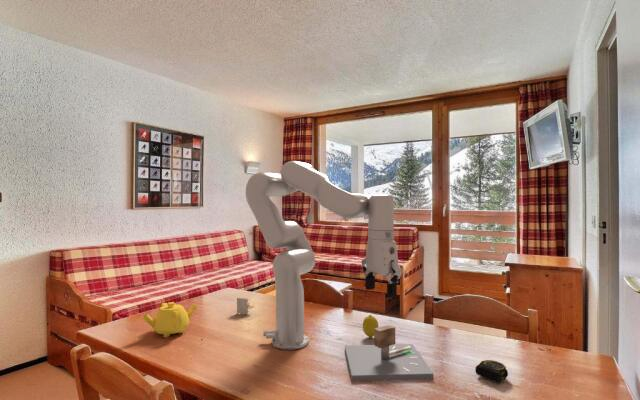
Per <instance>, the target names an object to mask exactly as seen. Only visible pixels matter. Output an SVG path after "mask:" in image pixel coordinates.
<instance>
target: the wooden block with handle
mask: <svg viewBox="0 0 640 400" xmlns="http://www.w3.org/2000/svg"><path fill="white" fill-rule="evenodd" d="M373 341H374V343H373V345H374V346H376V347H378V348H381V358H383V359H389V356H391V355H394V354H398V353H401V352H405V351H408V350H411V347H410V346H407V347H403V348H400V349H396V350H393V351H389V346H390V345H394V344H396V326H393V325H391V324H388V325H383V326H378V328H374V336H373Z"/></svg>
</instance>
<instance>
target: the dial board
mask: <svg viewBox="0 0 640 400" xmlns="http://www.w3.org/2000/svg"><path fill="white" fill-rule="evenodd" d="M407 346H410V347H411V350H408V351H405V352H401V353H398V354H394V355H391V356H389V359H383V358H381V348H378V347H376V346H374V344H364V345H363V344H357V345H356V344H355V345H344V352H345V357H346V361H347V365H348V370H349V373H350V374H349V375H350V378H351V382H360V381H361V382H363V381H364V382H368V381H369V382H371V381H372V382H373V381H375V382H376V381H409V380H410V381H411V380H412V381H414V380H419V381H420V380H434V377H435V376H434V372H433V371H432V370H431V368H430V366H429V365H428V364H427V362H426V361H425V360H424V358H423V357H422V356H421V354H420V353H419V351H418V349H416V347H415V345H414V344H413V343H407V344H405V343H404V344H403V343H401V344H397V343H395V344H394V345H390V346H389V351H393V350H396V349H400V348H403V347H407Z"/></svg>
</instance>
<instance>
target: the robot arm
mask: <svg viewBox="0 0 640 400" xmlns="http://www.w3.org/2000/svg"><path fill="white" fill-rule="evenodd" d="M298 191H299V192H301V193H303V194H305V195H307V196H309V197H311V198H312V199H314V200H315V201H316V202H317V203H318V204H319V205H320V206H322V207H323V208H325V209H326V210H328V211H330V212H332V213H333V214H336V215H337V216H340V217H342V218H345V219H349V220H351V219H352V220H353V219H360V218H368V219H367V220H368V221H367V223H368V225H367V227H368V230H367V233H368V235H367V236H368V237H367V243H366V250H365V258H364V259H362V260H361V266H362V270H363V272H364V274H363V275H364V277H365V290H366V291H367V290H368V291H369V290H370V291H371V290H374V289H376V275H375V274H377V275H380V276H384V277H386V280H387V281H388V282H386V297H387V298H394V297H397V295H398V294H397V292H398V291H397V287H398V286H397V285H398V283H399V281H400V279H401V278H402V274H403V272H404V270H403V268H402V267H401V266H400V265H399V257H398V256H399V255H398V247H397V243H396V241H395V233H394V232H395V231H394V230H395V226H394V225H395V199H394V196H393V195H392V194H386V193H385V194H384V193H383V194H379V193H378V194H377V193H376V194H365V193H350V192H348V191H346V190H344V189H342V188H340V187H338V186H336V185H334V183H333V184H332V183H331V182H330V177H328V175H326V174H324V173H322V172H319V171H317V170H316V169H315V168H314V167H313V165H312V164H310V163H307V162H303V161H297V160H290V161H287V162H285V163H283V165H282V167H280V172H279V173H275V172H268V171H267V172H266V171H263V172H257V173H254V174H253V175H252V176H250V177H249V179H248V180H247V183H246V186H245V198H246V201H247V204H248V206H249V208H250V210H251V213H252V214H253V215H254V218H255V220H256V223H257V225H258V227H259V229H260V232H261V234H262V236H263V239H264V241H265V243H266V245H267V246H268V247H269V248H271V249H272V250H279V249H286V250H283V251H281V252H279V253H278V254H276V255H275V257H274V258H273V263H272V271H273V276H274V283H275V306H276V307H275V308H276V309H275V312H276V313H275V316H276V317H275V318H276V319H275V321H276V322H275V324H276V325H275V326H276V327H275V328H274V329H272V330H267V329H266V330H263V333H262V334H263V337H265V339H271V345H272V346H273V347H274V348H276V349H280V350H286V351H288V350H289V351H291V350H298V349H302V348H304V347H306V346H307V345H308V344H309V342H310V337H309V336H308V335H306V334H305V294H304V293H305V292H304V291H305V290H304V285H303V281H302V279H301V276H302V275H305V274H307V273H309V272H311V271H312V270H313V269H314V267H315V265H316V257H315V253H314V250H313V249H312V248H313V247H312V246H311V244H310V242H309V240H308V238H307V235H306V233H305V232H304V229H303V228H302V226H300V225H299V224H298V223H297V222H296V221H294V220H284V219H283V217H282V215H281V213H280V210H279V209H278V207H277V205H276V204H275V203H274V202H273V200H272V199H271V197H279V198H280V197H284V196H285V197H286V196H288V195H291V194H293V193H296V192H298Z"/></svg>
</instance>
